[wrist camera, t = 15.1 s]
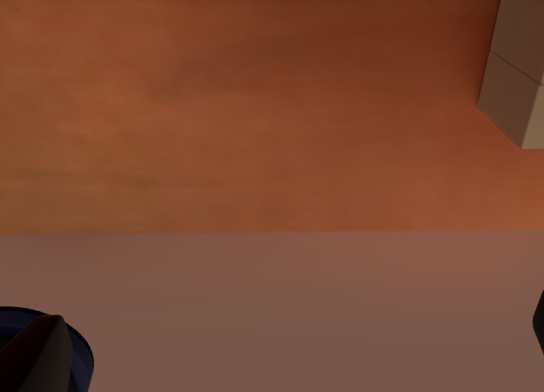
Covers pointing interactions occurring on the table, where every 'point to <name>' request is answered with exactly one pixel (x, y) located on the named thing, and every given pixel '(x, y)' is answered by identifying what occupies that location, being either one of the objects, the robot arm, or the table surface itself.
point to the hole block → (516, 73)
